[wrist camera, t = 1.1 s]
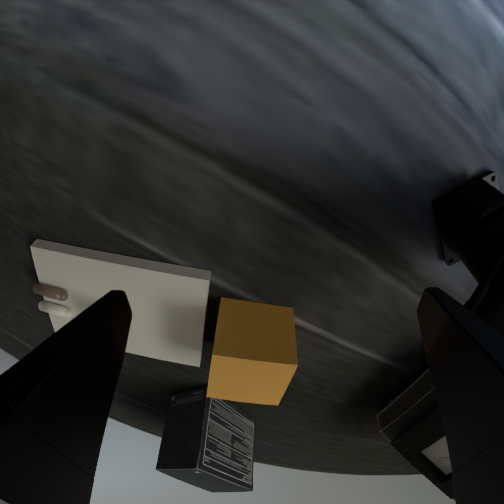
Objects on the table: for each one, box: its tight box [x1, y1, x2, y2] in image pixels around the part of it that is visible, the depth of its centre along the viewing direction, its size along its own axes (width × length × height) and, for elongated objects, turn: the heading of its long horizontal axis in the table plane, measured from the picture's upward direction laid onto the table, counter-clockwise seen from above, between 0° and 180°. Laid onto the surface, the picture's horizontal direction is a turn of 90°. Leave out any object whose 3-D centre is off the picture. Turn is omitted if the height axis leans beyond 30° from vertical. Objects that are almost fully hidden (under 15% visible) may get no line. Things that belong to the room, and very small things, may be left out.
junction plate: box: [30, 239, 211, 367], centre depth 25 cm, size 16×11×5 cm, turn 80°
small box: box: [156, 386, 256, 492], centre depth 32 cm, size 11×6×10 cm, turn 31°
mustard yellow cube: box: [206, 297, 298, 405], centre depth 25 cm, size 6×6×6 cm
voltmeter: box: [377, 368, 455, 500], centre depth 25 cm, size 16×16×20 cm
